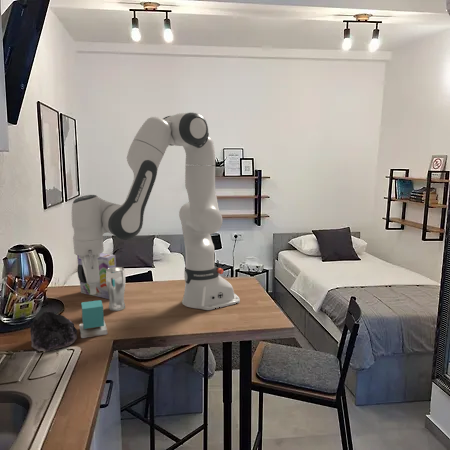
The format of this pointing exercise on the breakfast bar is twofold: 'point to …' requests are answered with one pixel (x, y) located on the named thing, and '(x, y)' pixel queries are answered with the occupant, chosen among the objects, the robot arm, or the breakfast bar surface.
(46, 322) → the dark grey rock
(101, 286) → the cake pan box
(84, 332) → the square base with post
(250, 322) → the breakfast bar surface
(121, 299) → the beer glass
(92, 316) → the turquoise cube
